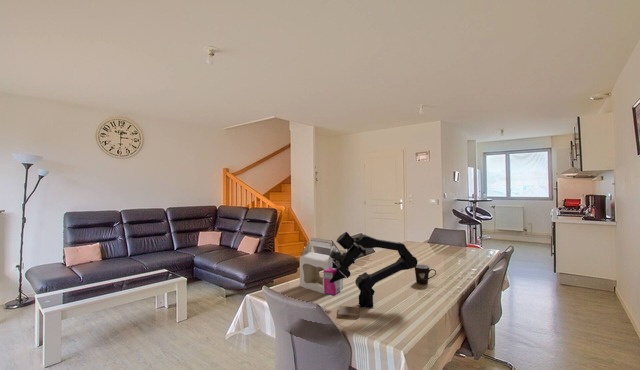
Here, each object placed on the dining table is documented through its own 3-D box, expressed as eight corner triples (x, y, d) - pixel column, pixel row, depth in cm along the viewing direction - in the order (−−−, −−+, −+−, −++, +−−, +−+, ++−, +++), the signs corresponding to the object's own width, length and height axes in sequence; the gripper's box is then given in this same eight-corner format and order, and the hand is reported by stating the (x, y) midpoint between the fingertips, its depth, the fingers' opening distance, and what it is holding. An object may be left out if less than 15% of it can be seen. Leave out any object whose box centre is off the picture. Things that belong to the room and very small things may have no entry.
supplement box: (330, 290, 148) (330, 267, 148) (340, 292, 145) (340, 269, 145) (323, 293, 144) (323, 269, 144) (333, 296, 140) (333, 271, 140)
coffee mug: (412, 283, 179) (411, 266, 179) (418, 279, 185) (418, 263, 185) (431, 287, 171) (431, 270, 171) (437, 283, 178) (436, 267, 178)
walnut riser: (358, 310, 140) (358, 307, 140) (358, 318, 132) (358, 315, 132) (339, 309, 142) (339, 305, 142) (337, 317, 133) (337, 314, 133)
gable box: (299, 286, 174) (299, 238, 174) (314, 280, 184) (314, 235, 184) (328, 295, 160) (328, 243, 160) (343, 288, 170) (343, 239, 170)
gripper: (336, 241, 154) (315, 263, 153) (343, 248, 135) (319, 274, 134) (351, 255, 155) (330, 277, 154) (360, 265, 136) (336, 290, 135)
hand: (329, 279), depth 144 cm, fingers closed on supplement box, 8 cm apart
